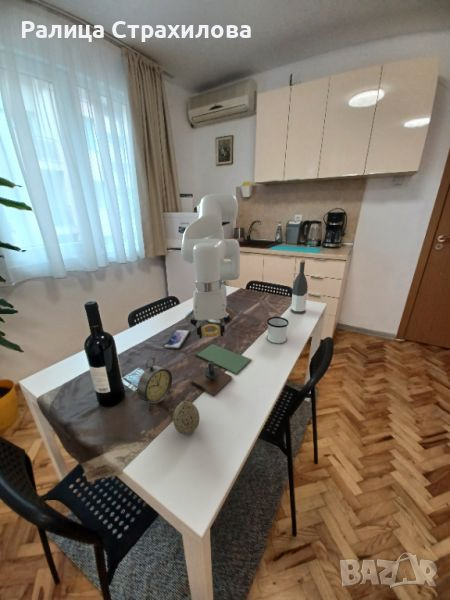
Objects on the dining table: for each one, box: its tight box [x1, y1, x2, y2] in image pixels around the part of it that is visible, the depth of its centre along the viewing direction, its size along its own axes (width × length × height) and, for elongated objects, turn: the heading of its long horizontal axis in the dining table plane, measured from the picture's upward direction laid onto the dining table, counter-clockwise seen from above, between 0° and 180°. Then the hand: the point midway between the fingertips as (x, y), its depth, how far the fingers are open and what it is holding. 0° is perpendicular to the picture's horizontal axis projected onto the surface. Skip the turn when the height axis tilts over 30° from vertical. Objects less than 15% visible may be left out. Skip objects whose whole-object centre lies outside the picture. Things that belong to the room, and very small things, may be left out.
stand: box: [191, 361, 233, 396], centre depth 83 cm, size 10×10×8 cm
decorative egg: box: [172, 400, 200, 435], centre depth 65 cm, size 7×7×10 cm
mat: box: [196, 343, 251, 375], centre depth 97 cm, size 20×10×1 cm, turn 53°
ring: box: [201, 323, 221, 338], centre depth 79 cm, size 6×6×1 cm
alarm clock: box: [136, 357, 173, 411], centre depth 74 cm, size 11×5×16 cm, turn 148°
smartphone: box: [164, 329, 190, 349], centre depth 111 cm, size 7×1×15 cm
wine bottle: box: [290, 258, 309, 315], centre depth 131 cm, size 8×8×30 cm
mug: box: [266, 316, 290, 344], centre depth 109 cm, size 12×10×9 cm
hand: (211, 334), depth 79 cm, fingers closed on ring, 6 cm apart
